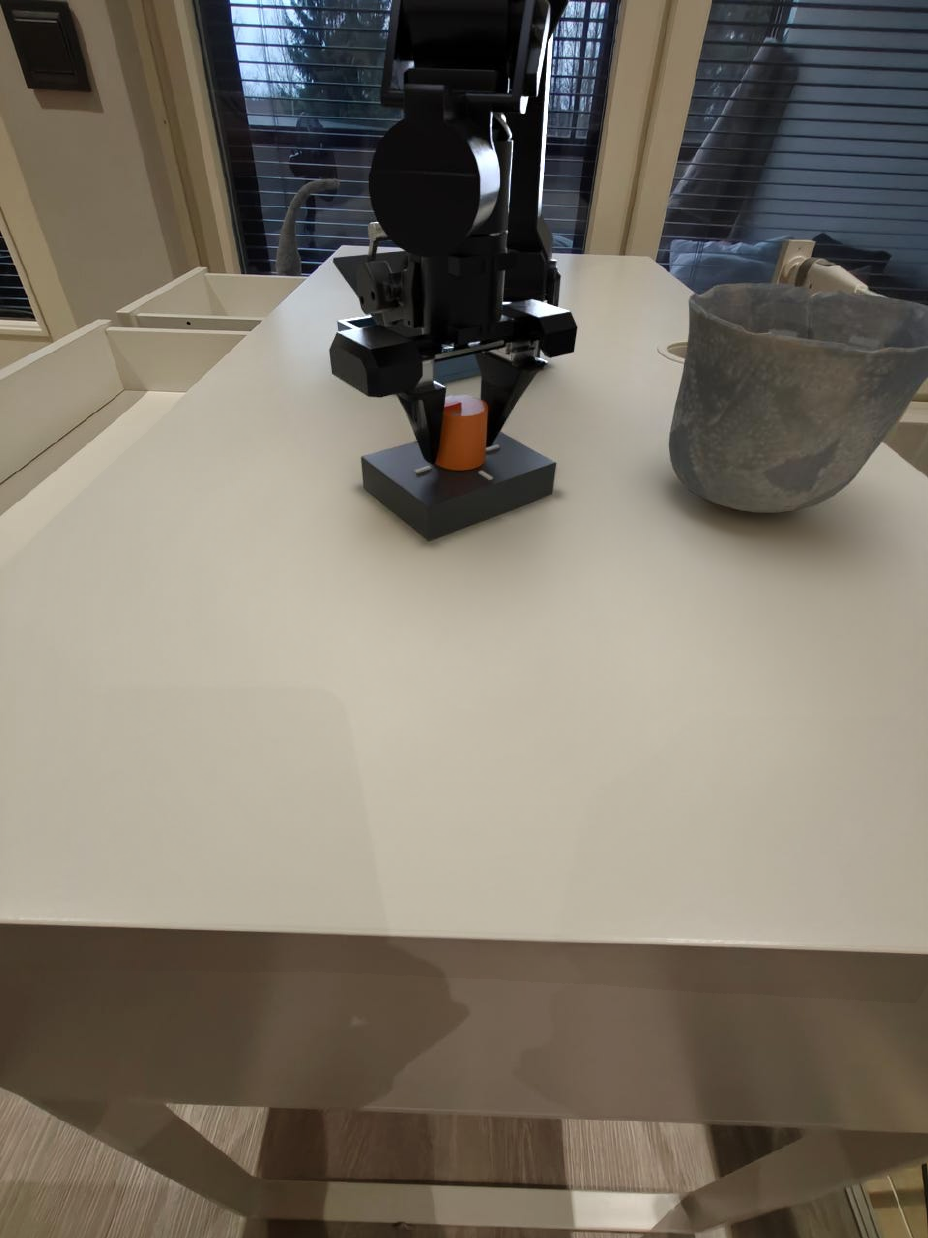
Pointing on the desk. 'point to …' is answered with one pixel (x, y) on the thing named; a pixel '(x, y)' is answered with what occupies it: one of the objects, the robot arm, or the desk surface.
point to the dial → (463, 433)
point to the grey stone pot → (790, 391)
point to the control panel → (456, 485)
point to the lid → (394, 259)
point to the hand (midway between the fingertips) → (458, 453)
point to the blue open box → (442, 369)
